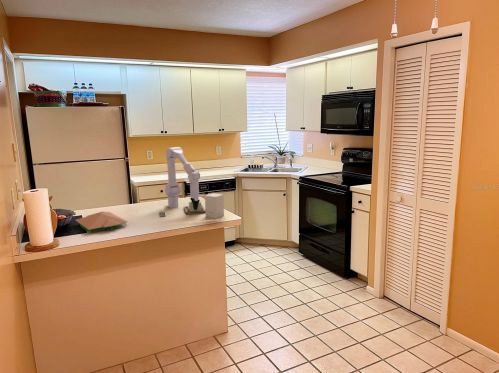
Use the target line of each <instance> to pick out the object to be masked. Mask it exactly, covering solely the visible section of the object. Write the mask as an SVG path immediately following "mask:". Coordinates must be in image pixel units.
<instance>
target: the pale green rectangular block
mask: <svg viewBox="0 0 499 373" xmlns="http://www.w3.org/2000/svg"><path fill="white" fill-rule="evenodd" d="M201 205H202V201H201V200H200V201H199V204H198V209H197V210H194V207H193V203H192V201H188V206H189V212H193V211H202V208H201Z"/></svg>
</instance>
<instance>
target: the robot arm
mask: <svg viewBox="0 0 499 373" xmlns="http://www.w3.org/2000/svg"><path fill="white" fill-rule="evenodd" d="M165 158H166V163H167V164H166V165H167V167H166V168H167V178H168V179H167V180H168V182H167V183H166V184H165V186H164V188H165V189H164V193H165V195H166V196H167V205H168V208H169V209H173V208H178V207H179V196H180V195H179V194H180V193H181V187H180V184H179V183H178V182H177V176H176V162H175V161H176V160H177V159H178V161H179V162H180V163H181V164H182V165H183V167H182V169H184V171H185V173H186V174H187V179H188V183H189V191H190V195H189V200H190V202H192V203H193V207H194V210H197V209H198V204H199V201H201V200H200V199H199V198H200V197H202V196H201V194H200V188H199V187H200V185H199V184H200V183H199V179H201V173H200V171H198V170H196V169H195V168H194V165H192V164H191V163H190V162H188V160H187V159H186V157H185V155H184V150H183V148H182V147H180V146H176V147H175V146H174V147H168V148H166V150H165Z"/></svg>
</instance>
